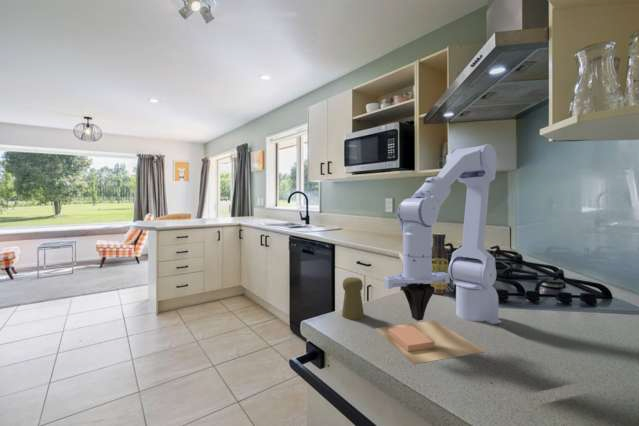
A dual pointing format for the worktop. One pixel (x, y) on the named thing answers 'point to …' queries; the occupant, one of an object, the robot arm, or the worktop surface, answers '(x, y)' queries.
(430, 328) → the tan cloth
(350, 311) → the pepper shaker
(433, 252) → the sauce bottle
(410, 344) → the tile
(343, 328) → the worktop surface
